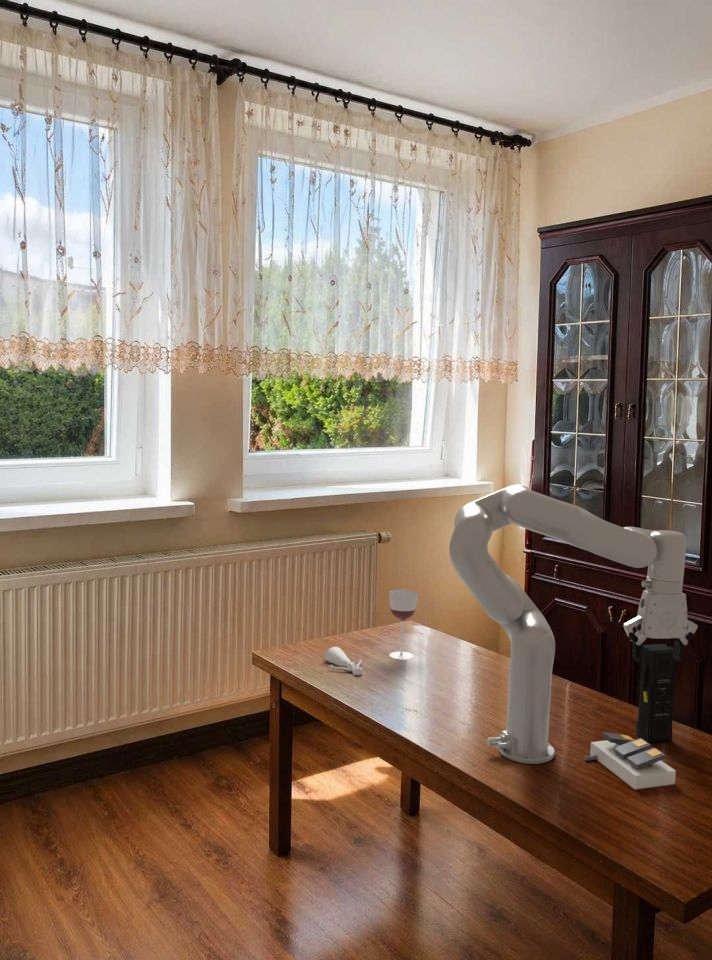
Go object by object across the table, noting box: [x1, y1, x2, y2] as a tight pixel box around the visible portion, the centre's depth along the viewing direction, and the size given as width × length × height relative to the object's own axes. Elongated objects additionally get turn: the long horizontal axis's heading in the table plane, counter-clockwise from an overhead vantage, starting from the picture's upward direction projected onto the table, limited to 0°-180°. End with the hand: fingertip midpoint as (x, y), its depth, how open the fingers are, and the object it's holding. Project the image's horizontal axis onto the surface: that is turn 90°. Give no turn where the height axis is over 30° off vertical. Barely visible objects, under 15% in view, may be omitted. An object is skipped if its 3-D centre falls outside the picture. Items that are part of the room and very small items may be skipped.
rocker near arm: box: [601, 731, 635, 746], centre depth 190 cm, size 7×4×2 cm, turn 107°
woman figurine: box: [324, 646, 364, 676], centre depth 248 cm, size 12×4×18 cm
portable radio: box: [635, 638, 677, 744], centre depth 201 cm, size 8×6×25 cm
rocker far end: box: [627, 747, 666, 769], centre depth 181 cm, size 7×4×2 cm, turn 106°
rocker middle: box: [614, 737, 652, 759], centre depth 186 cm, size 7×4×2 cm, turn 106°
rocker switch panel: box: [584, 739, 677, 790], centre depth 186 cm, size 13×17×3 cm
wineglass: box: [388, 588, 419, 661], centre depth 258 cm, size 8×9×20 cm
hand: (657, 660), depth 188 cm, fingers open, 9 cm apart
